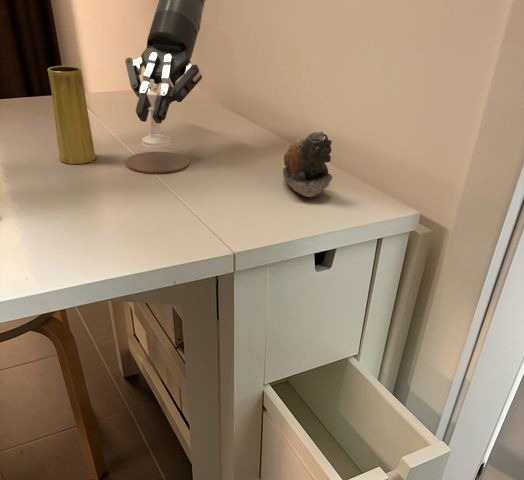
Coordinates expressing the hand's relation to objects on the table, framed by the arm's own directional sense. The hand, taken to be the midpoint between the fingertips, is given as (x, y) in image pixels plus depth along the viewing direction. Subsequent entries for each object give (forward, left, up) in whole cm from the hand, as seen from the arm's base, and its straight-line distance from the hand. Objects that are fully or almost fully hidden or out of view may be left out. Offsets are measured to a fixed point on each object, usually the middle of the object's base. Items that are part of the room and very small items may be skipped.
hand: (149, 119), depth 90 cm
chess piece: (+2, +1, -5) cm, 5 cm away
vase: (-8, +11, -8) cm, 16 cm away
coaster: (+2, +1, -8) cm, 8 cm away
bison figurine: (+14, -23, -8) cm, 28 cm away
